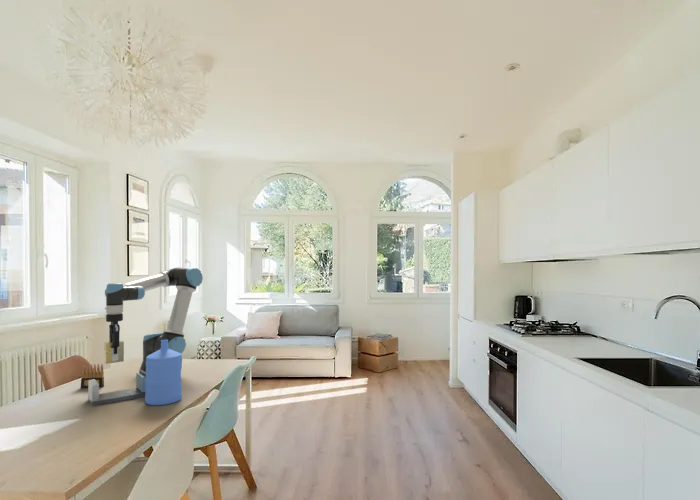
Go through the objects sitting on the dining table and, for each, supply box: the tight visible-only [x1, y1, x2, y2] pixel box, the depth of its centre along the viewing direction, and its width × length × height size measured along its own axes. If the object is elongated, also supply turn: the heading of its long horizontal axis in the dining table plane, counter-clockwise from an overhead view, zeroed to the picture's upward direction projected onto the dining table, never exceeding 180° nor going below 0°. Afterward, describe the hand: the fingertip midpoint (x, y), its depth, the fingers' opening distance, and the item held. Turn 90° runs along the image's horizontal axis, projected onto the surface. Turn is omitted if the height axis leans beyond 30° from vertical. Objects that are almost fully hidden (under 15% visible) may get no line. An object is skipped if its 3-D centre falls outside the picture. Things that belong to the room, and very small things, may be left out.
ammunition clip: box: [80, 363, 105, 389], centre depth 217 cm, size 11×2×12 cm, turn 98°
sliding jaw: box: [135, 369, 146, 392], centre depth 205 cm, size 4×12×8 cm, turn 40°
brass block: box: [103, 340, 125, 365], centre depth 211 cm, size 8×4×10 cm, turn 130°
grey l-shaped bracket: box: [87, 379, 145, 407], centre depth 199 cm, size 26×12×9 cm, turn 129°
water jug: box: [144, 340, 183, 406], centre depth 194 cm, size 16×16×28 cm
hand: (114, 359), depth 211 cm, fingers closed on brass block, 4 cm apart
